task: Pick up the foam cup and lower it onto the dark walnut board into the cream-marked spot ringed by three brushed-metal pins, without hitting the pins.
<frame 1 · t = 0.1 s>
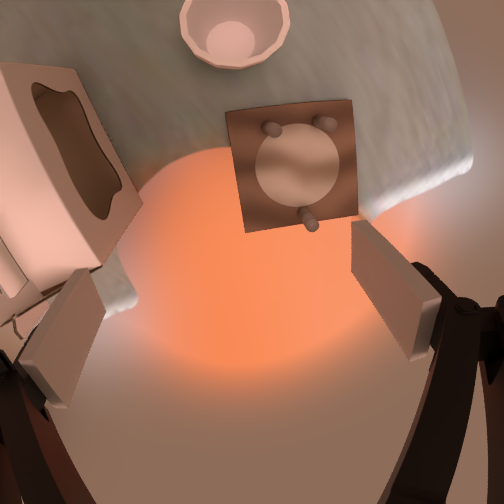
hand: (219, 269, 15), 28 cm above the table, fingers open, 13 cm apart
pin board: (295, 163, 41), on the table
foam cup: (230, 43, 33), on the table
gable box: (70, 158, 37), on the table
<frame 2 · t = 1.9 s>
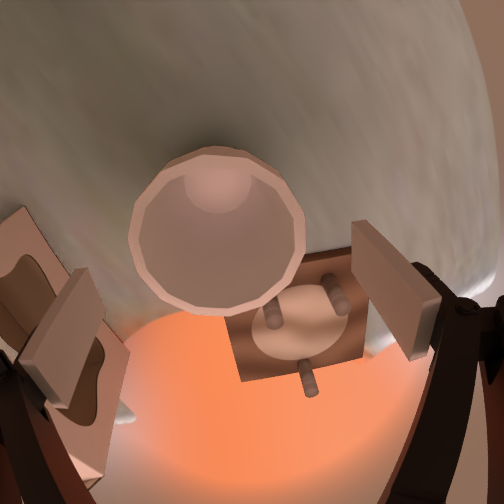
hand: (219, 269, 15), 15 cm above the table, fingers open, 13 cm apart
pin board: (298, 317, 36), on the table
foam cup: (217, 179, 28), on the table
gable box: (43, 303, 33), on the table
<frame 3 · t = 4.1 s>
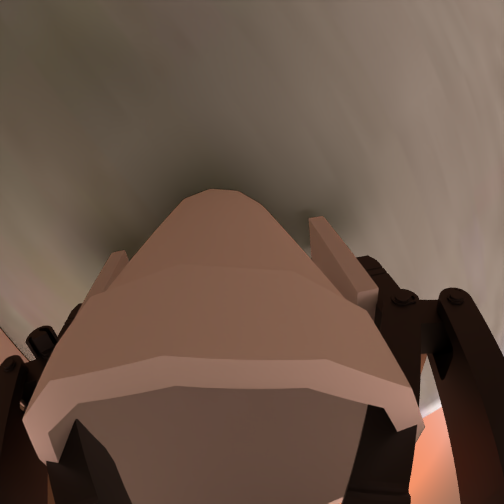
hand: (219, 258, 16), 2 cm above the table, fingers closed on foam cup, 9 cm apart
foam cup: (219, 243, 18), on the table, touching gripper
gable box: (3, 378, 22), on the table
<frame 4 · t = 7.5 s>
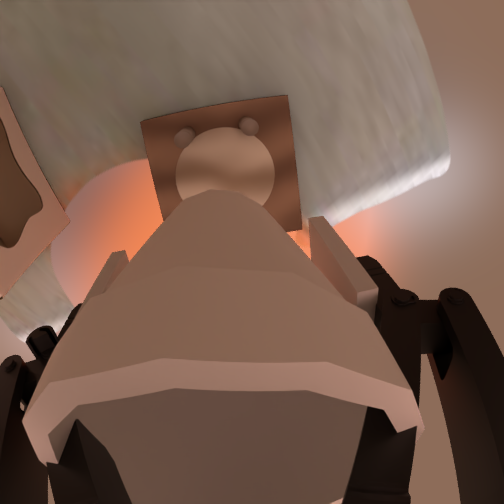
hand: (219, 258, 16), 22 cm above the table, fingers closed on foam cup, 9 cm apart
pin board: (224, 173, 36), on the table
foam cup: (219, 243, 18), point 20 cm above the table, touching gripper
gable box: (3, 177, 33), on the table
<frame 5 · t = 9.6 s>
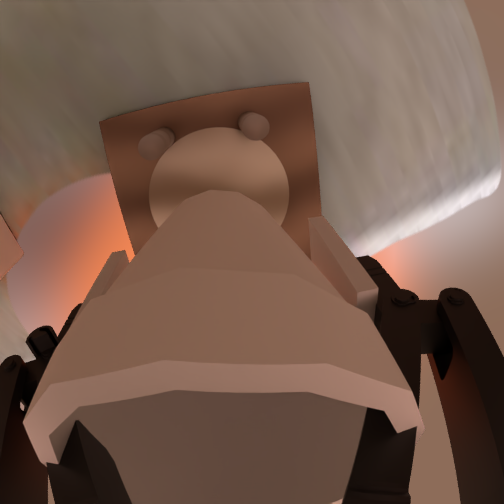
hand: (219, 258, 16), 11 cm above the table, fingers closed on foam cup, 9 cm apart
pin board: (218, 192, 26), on the table
foam cup: (219, 244, 18), point 10 cm above the table, touching gripper
when the fingers open (5 cm above the table, at t = 11.3 s): foam cup drops 2 cm, resting on pin board.
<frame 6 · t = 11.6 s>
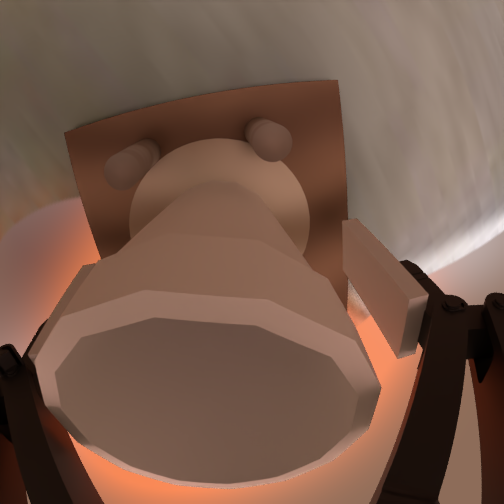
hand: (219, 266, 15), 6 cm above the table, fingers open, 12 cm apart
pin board: (219, 221, 21), on the table
foam cup: (219, 230, 19), point 2 cm above the table, touching pin board
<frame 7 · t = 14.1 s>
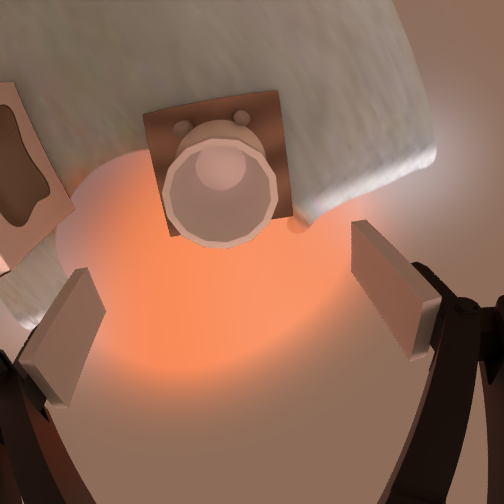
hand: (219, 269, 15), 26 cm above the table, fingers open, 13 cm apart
pin board: (220, 162, 39), on the table
foam cup: (220, 164, 37), point 1 cm above the table, touching pin board
gable box: (12, 166, 35), on the table
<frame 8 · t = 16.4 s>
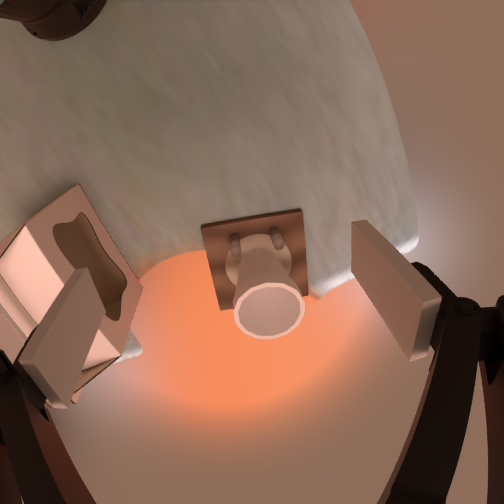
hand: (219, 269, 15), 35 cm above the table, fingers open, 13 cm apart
pin board: (257, 260, 55), on the table
foam cup: (258, 264, 53), point 1 cm above the table, touching pin board
gable box: (84, 252, 51), on the table
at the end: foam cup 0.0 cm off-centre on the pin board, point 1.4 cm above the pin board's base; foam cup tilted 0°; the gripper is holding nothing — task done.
